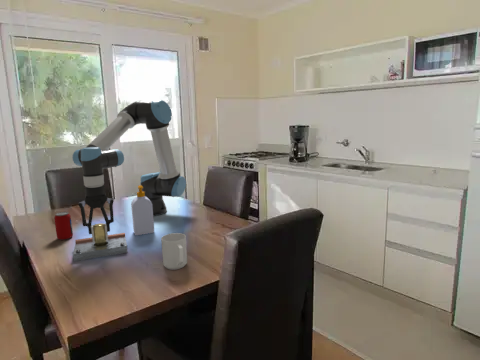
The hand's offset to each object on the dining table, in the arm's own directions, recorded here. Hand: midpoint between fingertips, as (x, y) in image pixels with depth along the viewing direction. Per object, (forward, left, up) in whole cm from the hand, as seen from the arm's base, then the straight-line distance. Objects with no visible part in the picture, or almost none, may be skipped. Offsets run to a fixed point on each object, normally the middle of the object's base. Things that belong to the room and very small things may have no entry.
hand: (100, 239), depth 139 cm
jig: (0, 0, -5) cm, 5 cm away
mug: (-26, +29, -5) cm, 39 cm away
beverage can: (+16, -24, -5) cm, 29 cm away
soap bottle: (-19, -16, -5) cm, 25 cm away
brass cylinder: (0, 0, -3) cm, 3 cm away
